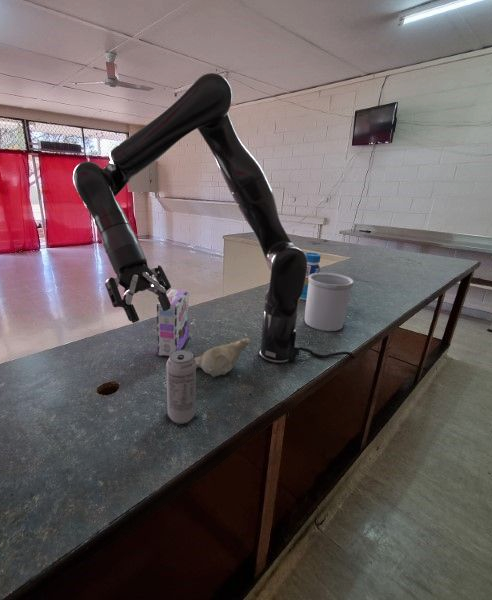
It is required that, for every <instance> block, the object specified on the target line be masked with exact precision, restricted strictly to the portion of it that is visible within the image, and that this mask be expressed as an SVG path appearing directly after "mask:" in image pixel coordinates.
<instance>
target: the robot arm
mask: <svg viewBox="0 0 492 600" xmlns="http://www.w3.org/2000/svg"><path fill="white" fill-rule="evenodd" d="M232 91H233V90H232V87H231V85H230V83H229V82H228V79H226V78H225V77H224V76H222V75H221V74H219V73H215V72H208V73H205V74H202V75H201V76H199V78H197V79H196V80H195V82H194V83H193V84H191V86H190V87H189V88H188V89H187V90H186V91H185V92H184V93H183V94H182V95H181V96H180V97H179V98H178V99H177V100H176V101H175V102H174V103H173V104H172V105H171V106H169V107H168V108H167V109H166V110H164V112H162V113H161V114H160V115H158V116H157V117H156V118H154V119H153V120H151V121H150V122H149V123H147V124H146V125H144V126H143V127H141V128H140V129H139V130H137V131H136V132H134V133H133V134H131V135H130V136H128V137H126V139H125V140H123V141H122V142H120V143H119V144H118V145H116V146H115V147H114V148H112V149H111V150H110V152H109V160H110V161H109V162H108V164H106V165H105V166H104V168H102V166H100V164H97V163H95V162H93V161H88V160H86V161H82V162H80V163H79V164H77V165H76V167H75V168H74V170H73V175H72V181H73V185H74V187H75V190H76V192H77V193H78V195H79V197H80V199H81V201H82V202H83V204H84V206H85V208H86V209H87V210H88V212H89V214H90V215H91V217H92V219H93V223H94V225H95V227H96V229H97V232H98V234H99V236H100V239H101V242H102V246H103V248H104V252H105V253H106V255H107V258H108V261H109V263H110V266H111V267H112V269H113V272H114V273H115V275H116V277H115V278H114V277H109V278H108V279H107V280H106V281H105V282H104V285H105V289H106V291H107V294H108V297H109V299H110V302H111V304H112V307H113V308H122V309H123V310H124V312H125V315H126V317H127V319H128V321H129V322H131V323H132V324H135V323H137V322H139V321H140V317H139V316H138V313H137V310H136V308H135V306H134V304H133V303H132V301H133V296H134V295H135V294H137V293H139V292H145V291H149V292H151V293H153V294H154V295H156V296H157V300H158V303H159V302H160V304H161V307H162V309H163V311H167V310H169V309H170V306H171V305H170V302H169V299H168V297H167V292H168V290H171V288H172V285H171V283H170V281H169V279H168V277H167V275H166V273H165V271H164V269H163V266H162V265H157V266H155V267H154V268H153V267H152V268H151V267H149V266H148V260H147V258H146V255H145V253H144V250H143V249H142V248H143V247H142V246H141V244H140V242H139V240H138V237H137V235H136V233H135V231H134V230H133V228H132V226H131V223H130V222H129V219H128V216H127V214H126V213H125V210H124V209H123V207H122V206H121V204H120V203H119V202H118V201H117V199H116V196H117V195H119V194H120V193H121V191H122V190H123V189H124V188H125V187H126V186H127V185H128V183H129V182H130V181H131V180H132V178H134V177H135V176H137V175H138V174H140V173H141V172H143V171H144V170H146V169H147V168H148V167H150V166H151V165H152V164H154V163H155V162H156V161H157V160H158V159H160V158H161V157H162V156H163V155H164V154H166V152H167V151H169V150H170V149H171V148H172V147H173V146H174V145H175V144H176V143H178V142H179V141H180V140H181V139H183V138H184V137H186V136H187V135H189V134H191V133H192V132H193V131H196V130H197V131H198V132H199V134H200V135H201V137H202V139H203V140H204V142H205V143H206V144H207V145H206V146H208V148H209V150H210V151H211V153H212V155H213V158H214V159H215V161H216V164H217V166H218V169H219V172H220V173H221V175H222V177H223V179H224V181H225V184H226V186H227V189H228V190H229V192H230V193H231V197H232V198H233V200H234V202H235V204H236V206H237V208H238V209H239V211H240V213H241V214H242V216H243V218H244V219H245V221H246V222H247V224H248V226H249V227H250V228H251V230H252V231H253V233H254V235H255V236H256V237H255V238H256V239H257V241H258V244H259V246H260V248H261V250H262V253H263V256H264V259H265V261H266V264H267V267H268V269H269V271H270V278H269V286H268V289H267V290H266V291H265V299H264V306H263V307H264V308H263V317H262V318H263V320H262V330H261V338H260V348H259V356H260V357H261V358H262V359H263V360H265V361H267V362H268V363H273V364H285V363H292V362H293V360H294V356H298V357H299V355H300V351H303V352H306V353H309V354H310V355H311V356H313V357H316V358H320V359H327V358H331V357H338V356H342V355H347V356H350V357H351V358H353V359H355V358H357V357H356V355H355V354H354V353H352V352H350V351H344V350H343V351H337V352H331V353H328V354H320V353H316V352H315V351H313V350H311V349H309V348H307V347H301V346H300V344H299V340H296V337H297V329H296V326H297V320H298V319H297V318H298V312H299V304H300V300H301V299H300V297H301V295H302V293H303V289H304V283H305V278H306V272H307V258H306V255H305V252H304V251H303V250H302V249H301V248H299V247H297V246H296V245H295V244H294V243H293V242H292V240H291V239H290V237H289V236H288V234H287V232H286V230H285V228H284V226H283V224H282V222H281V220H280V216H279V212H278V207H277V202H276V198H275V195H274V192H273V189H272V187H271V185H270V182H269V181H268V178H267V176H266V174H265V172H264V170H263V168H262V166H261V165H260V163H259V162H258V160H256V158H255V157H254V156H253V154H252V153H251V152H250V151H249V150H248V149H247V147H246V146H245V145H244V144H243V143H242V141H241V140H240V138H239V135H238V134H237V132H236V130H235V128H234V125H233V123H232V121H231V118H230V116H229V112H230V110H231V106H232V102H233V92H232ZM119 286H121V287H122V288H123V292H122V296H121V292H120V290H119Z"/></svg>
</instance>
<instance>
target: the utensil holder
mask: <svg viewBox="0 0 492 600" xmlns="http://www.w3.org/2000/svg"><path fill="white" fill-rule="evenodd" d="M308 280H309V284H308V292H307V300H305V308H304V309H305V310H304V323H305V324H306V325H307V326H308V327H311V328H313V329H316V330H319V331H323V332H336V331H340V330H342V329H343V328H344V324H345V319H346V316H347V311H348V307H349V302H350V297H351V293H352V287H353V285H354V280H353V278H351V277H349V276H347V275H344V274H340V273H334V272H333V273H332V272H319V273H313V274H310V275H309V278H308Z"/></svg>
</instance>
